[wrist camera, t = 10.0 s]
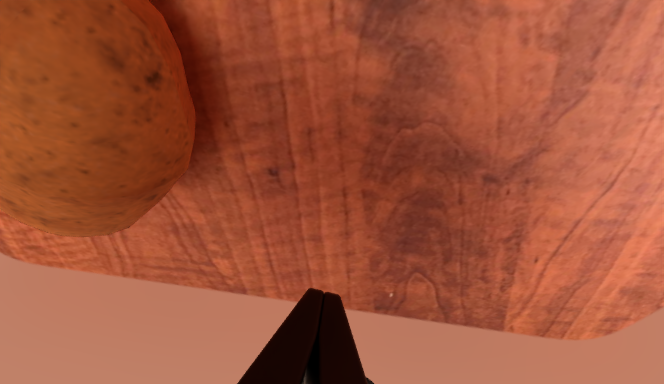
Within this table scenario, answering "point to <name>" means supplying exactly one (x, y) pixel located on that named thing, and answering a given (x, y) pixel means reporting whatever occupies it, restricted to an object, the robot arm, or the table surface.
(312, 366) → the robot arm
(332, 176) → the table surface
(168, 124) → the potato
